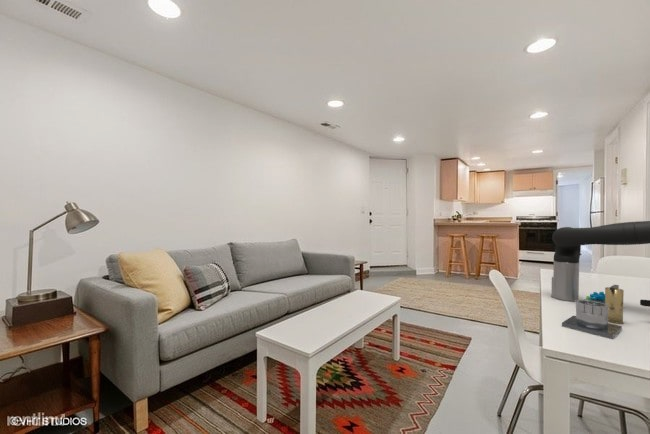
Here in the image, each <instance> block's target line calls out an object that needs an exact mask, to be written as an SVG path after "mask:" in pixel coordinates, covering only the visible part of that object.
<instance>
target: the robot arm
mask: <svg viewBox="0 0 650 434" xmlns="http://www.w3.org/2000/svg"><path fill="white" fill-rule="evenodd" d="M551 239H552V241H553V243H554V244H555V252H554V253H553V254H554V255H553V274H552V275H553V276H552V277H551V293H550V294H551V295H550V296H551V298H555V299H558V300H561V301H566V302H567V301H568V302H576V301H577V300H580V299H579V298H580V293H579V290H580V288H579V287H580V257H581V249H582V248H581V246H588V245H604V246H605V245H607V246H608V245H609V246H633V245H636V246H637V245H648V244H650V220H642V221H641V220H639V221H627V222H616V223H611V224H610V223H609V224H604V225H598V226H591V227H572V226H570V227H569V226H564V227H560V228H557V229H556V230H555V231H554V232H553V233H552V236H551ZM639 305H640V306H642V307H648V308H649V307H650V299H640V301H639Z"/></svg>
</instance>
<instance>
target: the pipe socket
mask: <svg viewBox="0 0 650 434" xmlns="http://www.w3.org/2000/svg"><path fill="white" fill-rule="evenodd" d="M608 314H609V306H608V305H607V304H604V303H600V302H596V301H589V300H587V299H579V300H577V301H575V315H572V316H570V317H569V318H567V319H566V320H564V321H563V322H561V327H564V328H566V329H567V328H568V329H571V330H576V331H580V332H582V333H583V332H584V333H588V334H591V335H595V336H599V337H603V338H606V339H611V340H614V339H615V338H616V336H617V335H619V333H620V332H621V331H622V330H623V326H622V325H619V324H615V323H610V322H608Z"/></svg>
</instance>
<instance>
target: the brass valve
mask: <svg viewBox="0 0 650 434" xmlns="http://www.w3.org/2000/svg"><path fill="white" fill-rule="evenodd" d="M604 291H605V292H604V294H605V304H607V305H608V306H609V314H608V323H610V324H614V325H622V324H624V295H625V293H624V291H625V290H624V289H623V288H620V285H619V284H613V285H611V286H610V287H609V286H607V287H604Z"/></svg>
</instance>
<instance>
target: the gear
mask: <svg viewBox="0 0 650 434" xmlns="http://www.w3.org/2000/svg"><path fill="white" fill-rule="evenodd" d="M585 300H589V301H596V302H600V303H604V304H605V292H604V291H599V292H596V291H593V292H592V293H590V294H589V295H587V296H586V299H585Z"/></svg>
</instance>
